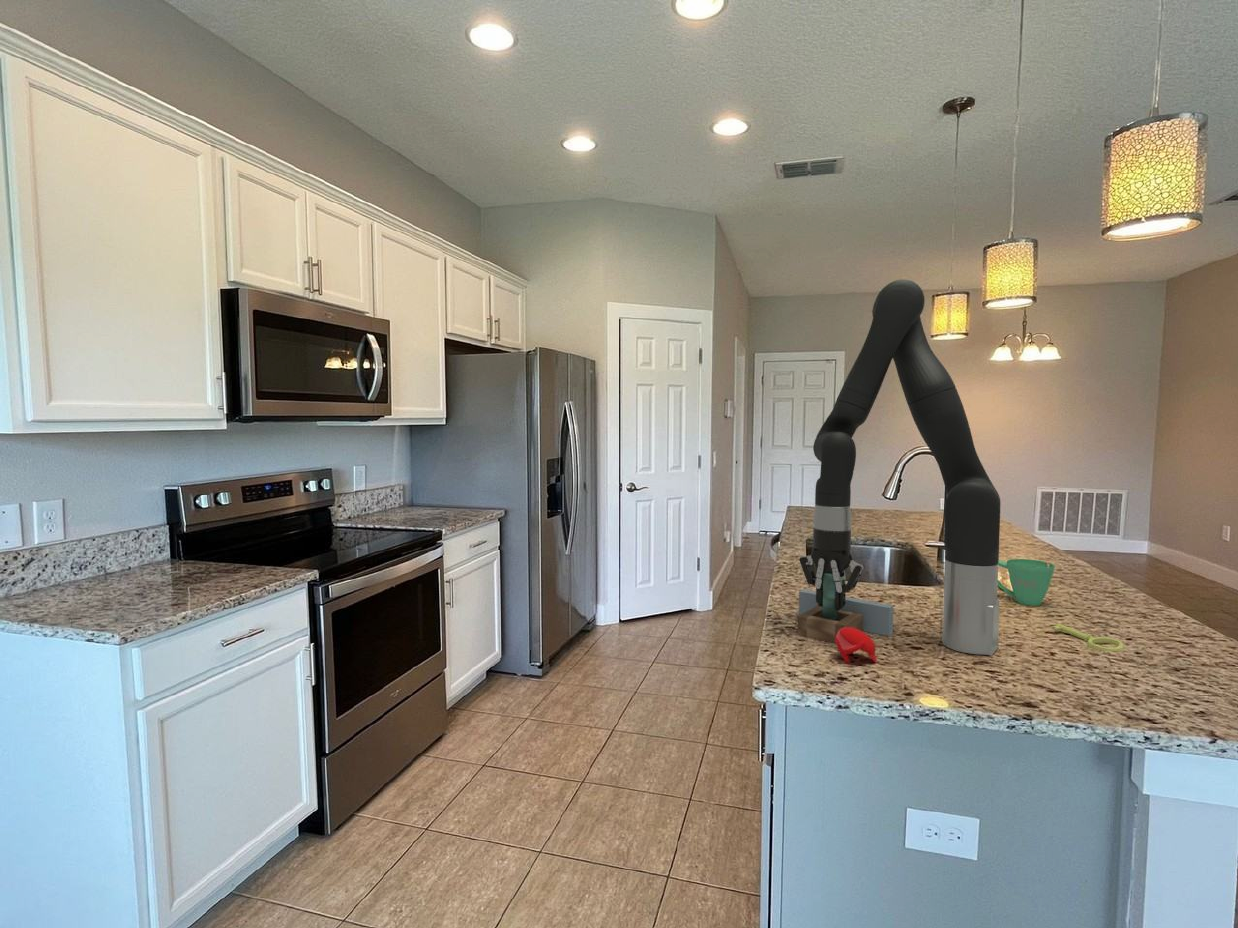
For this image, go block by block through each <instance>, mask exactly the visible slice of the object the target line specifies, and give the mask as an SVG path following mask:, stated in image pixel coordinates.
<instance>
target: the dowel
mask: <svg viewBox="0 0 1238 928" xmlns="http://www.w3.org/2000/svg"><path fill="white" fill-rule="evenodd" d="M836 592H837V590H836V584H835V581H834V578H833V574H830V573H824V572H823V600H822V618H825V619H830V620H835V621H838V610H837V609H835V601H836Z"/></svg>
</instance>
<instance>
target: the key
mask: <svg viewBox="0 0 1238 928" xmlns="http://www.w3.org/2000/svg"><path fill="white" fill-rule="evenodd" d="M1051 629H1052V630H1053V629H1054V631H1061V632H1064V633H1066V634H1069V635H1072V636H1074V637H1077V638H1079V639H1082V640H1083V641H1084V642H1086V646H1087V647H1088V648H1090V649H1093V650H1097V651H1104V652H1117V651H1118V652H1120V651H1122V650H1123V651H1124V650H1125V645H1124V643H1123V642H1122V641H1120V640H1118V639H1115V638H1112V637H1105V636H1096V637H1095V636H1093V634H1092V633H1088V634H1086V633H1084V632H1081V631H1079V630H1076V629H1073V628H1071V627H1068V626H1066V625H1063V624H1062V623H1059V622H1058V623H1056V624H1055V625H1053V626H1052V625H1051ZM1098 644H1112V645H1116V646H1114V647H1108V646H1101V645H1098Z"/></svg>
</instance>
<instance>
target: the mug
mask: <svg viewBox="0 0 1238 928" xmlns="http://www.w3.org/2000/svg"><path fill="white" fill-rule="evenodd" d="M999 566H1000V567H1002V568H1004V569H1007V571H1008V575H1009V576H1008V577H1009V583H1010V585H1011V589H1012V590H1011V589H1010V588H1008V587H1006V586H1004V585H1003V584H1002V583H1001V582H1000V580H999V579H998V588H997V589H998V590H999V591H1001V592H1002V593H1004V594H1006V595H1008V596H1010V597H1012V598H1013V599H1014V600H1016V602H1017V603H1018V604H1020V605H1024V606H1028V607H1029V606H1031V607H1038V606H1041V604H1042V602H1043V601H1044V600H1045V597H1046V595H1047V592H1048V590H1049V588H1050V586H1051V580H1052V578H1053V575H1054V571H1055V568H1056V567H1055V565H1054V564H1053V563H1049V565H1048V563H1047V561H1044V560H1043V561H1042V560H1037V559H1031V558H1030V559H1029V558H1026V559H1025V558H1012V559H1011V558H1010V559H1008V560H1006V561H1004V560H1001V559H999V562H998V567H999Z"/></svg>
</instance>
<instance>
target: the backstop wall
mask: <svg viewBox="0 0 1238 928" xmlns="http://www.w3.org/2000/svg"><path fill="white" fill-rule="evenodd" d="M817 605H818V603H817V602H816V590H810V589H801V590H799V591H798V616H799V615H801V614H803V613H804V612H806V611H808V610H810V609H812V608H814V607H816V606H817ZM840 610H844V611H849V612H854V613H859V614H863V632H867V633H872V634H876V635H881V636H886V637H890V636H891V635H892V634H893V633H894V605H893V604H887V603H881V602H875V601H870V600H865V599H859V598H853V597H849V596H848V597H847V596H845V606H844V607H842V609H840Z"/></svg>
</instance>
